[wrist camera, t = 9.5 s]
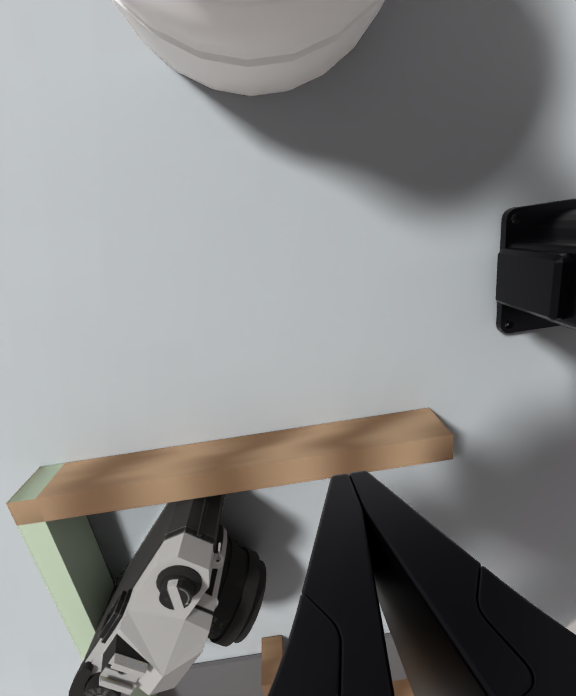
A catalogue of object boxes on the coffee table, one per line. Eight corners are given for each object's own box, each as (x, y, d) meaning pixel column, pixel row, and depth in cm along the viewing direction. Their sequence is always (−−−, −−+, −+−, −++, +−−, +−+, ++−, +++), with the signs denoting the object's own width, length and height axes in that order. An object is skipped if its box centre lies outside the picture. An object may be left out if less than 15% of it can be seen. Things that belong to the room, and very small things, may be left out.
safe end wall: (65, 463, 22) (35, 498, 19) (170, 724, 30) (160, 776, 27) (40, 466, 22) (6, 503, 19) (152, 727, 30) (140, 780, 27)
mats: (403, 631, 28) (404, 635, 28) (405, 674, 30) (406, 678, 30) (151, 670, 28) (150, 675, 28) (168, 712, 30) (167, 717, 29)
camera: (205, 627, 27) (186, 805, 18) (102, 596, 25) (28, 776, 17) (290, 488, 25) (314, 618, 16) (183, 444, 23) (145, 562, 14)
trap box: (429, 407, 22) (453, 434, 19) (432, 683, 30) (449, 730, 28) (40, 466, 22) (6, 503, 19) (152, 727, 30) (140, 780, 27)
